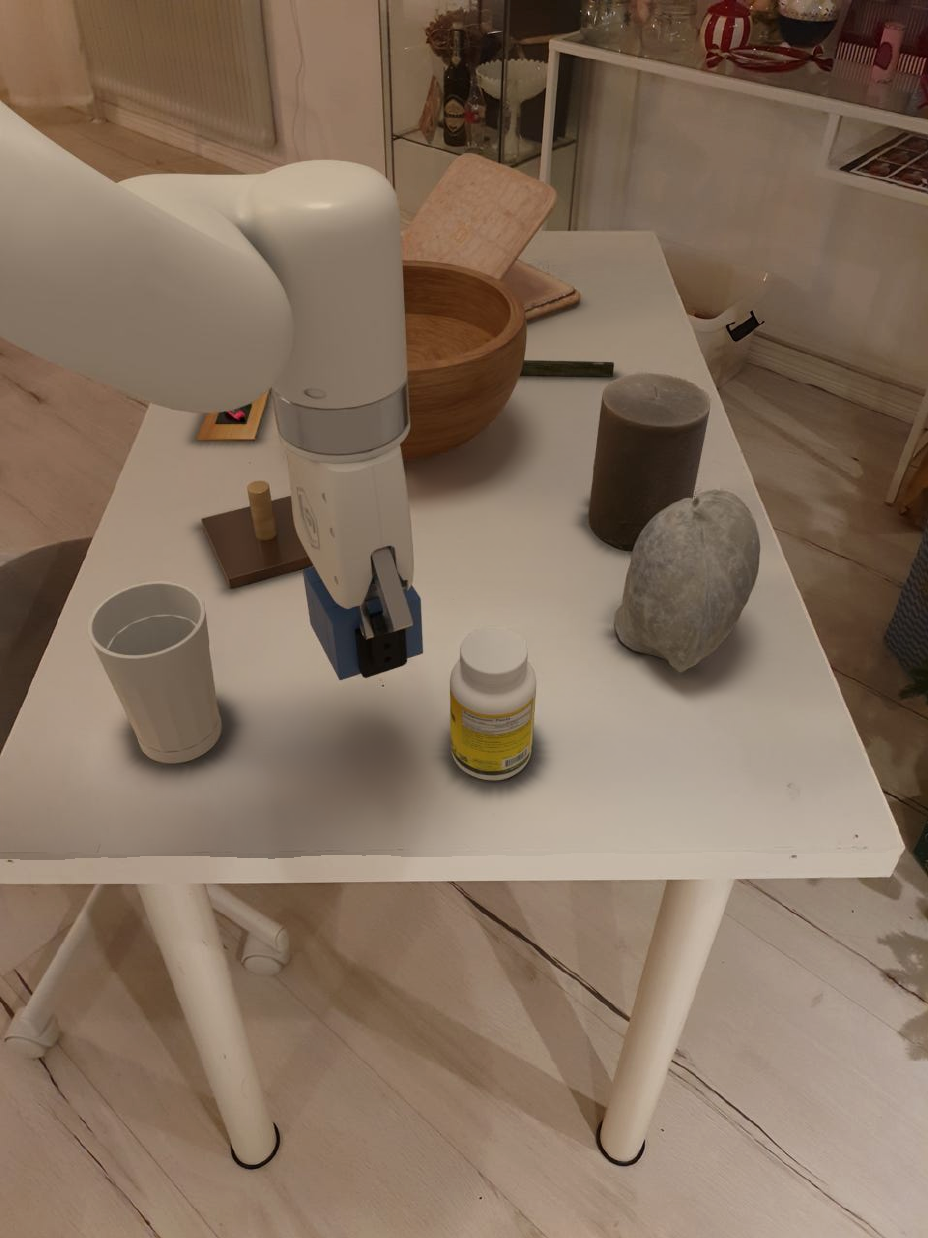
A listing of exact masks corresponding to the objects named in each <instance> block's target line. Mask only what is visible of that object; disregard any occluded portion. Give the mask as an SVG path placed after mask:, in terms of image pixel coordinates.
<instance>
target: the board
mask: <svg viewBox="0 0 928 1238" xmlns="http://www.w3.org/2000/svg"><path fill="white" fill-rule="evenodd" d="M270 392H271V388H270V389H269V390H268V391H267V392H266V393H265V394H264V395H262V396H261V397H260V398H258V399H256V400H255V401H253V402H251V403H250V404H248V405H246V406H243V407H240V408H237V409H234V410H231V411H225V412H219V413H205V416H204V419H203V421H202V424H201V427H200V429H199V432H198V434H197V437H196V441H203V442H204V441H206V442H207V441H209V442H210V441H212V442H213V441H214V442H215V441H216V442H217V441H219V442H222V441H223V442H224V441H225V442H226V441H227V442H228V441H230V442H233V441H234V442H238V441H239V442H255V441H256V436H257V433H258V430H259V427H260V424H261V421H262V417H263V414H264V410H265V408H266V404H267V400H268V398H269V394H270Z"/></svg>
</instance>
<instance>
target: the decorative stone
mask: <svg viewBox="0 0 928 1238" xmlns="http://www.w3.org/2000/svg"><path fill="white" fill-rule="evenodd" d="M760 556H761V542H760V534H759V530H758V526H757V523H756V520H755V519H754V516H753V514H752V511H751V510H750V509H749V507H748V506H747V504H746V503H745V502H744V501H743V500H742V499H741V498H740V497H738V496H737V495H736V494H734V493H732V492H729V491H728V490H727V491H726V490H722V489H711V490H706V491H702V492H700V493H697V495H695V496H693V499H692V498H684V499H682V500H680V501H678V502H675V503H672V504H671V505H669V506H668V507H666V508H665V509H663V510H662V511H660V512H659V513H657V514H656V515H655V516H654V517H653V518H652V519H651V520H650V521H649V522H648V523H647V525H646V526H645V527H644V529H643V530H642V531H641V533H640V535H639V537H638V539H637V541H636V543H635V546H634V549H633V551H631V557H630V562H629V565H628V567H627V573H626V576H625V581H624V586H623V592H622V599H621V604H620V606H618V608H617V609H616V610H615V612H614V624H615V632H616V635H617V637H618V639H619V641H620V642H621V643H622V644H623V645H625V646H626V647H627V648H628V649H630V650H632V651H634V652H637V653H641V654H646V655H649V656H654V657H658V658H661V659H662V660H665V661H668V663H669V665H670V666H671V667H672V668H673V669H674V670H675V671H677V672H678V673H684V672H686V671H687V670H688V669H690V668H693V667H694V666H696V665H697V664H698V663H699V662H700V661H701V660H702V659H704V658H707V657H708V656H709V655H711V654H712V653H714V652H715V651H716V650H717V648H718V647H719V646H721V644H722V643H723V641H724V640H725V639H726V638H727V636H728V635H729V634H730V632H731V631H732V630H733V628H734V626H735V625H736V623H737V622H738V621H739V620H740V617H741V615H742V613H743V610H744V609H745V607H746V605H747V603H748V601H749V600H750V597H751V594H752V592H753V590H754V587H755V584H756V582H757V577H758V573H759V568H760Z"/></svg>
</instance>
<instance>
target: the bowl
mask: <svg viewBox="0 0 928 1238" xmlns="http://www.w3.org/2000/svg"><path fill="white" fill-rule="evenodd" d="M402 264H403V286H404V308H405V330H406V352H407V372H408V393H409V414H410V430H409V432H408V435H407V436H406V438H405V439H404V441H403V442H402V443H400V447H401V453H402V459H403V462H405V461H408V462H409V461H418V460H419V461H420V460H424V459H426V460H427V459H431V458H434V457H438V456H440V455H444V454H446V453H449V452H451V451H454V450H456V449H458V448H460V447H462V446H463V445H465V444H466V443H469V442H470V441H472V440H473V439H474V438H476V437H477V436H479V434H481V433H482V432H483V431H484V430H485V429H487V428H488V427H489V425H490V424H491V423H492V422H494V420H495V419H496V418H497V417H498V416H499V415H500V413H501V412H502V411H503V409H504V407H505V406H506V405H507V403H508V402H509V400H510V398H511V396H512V394H513V392H514V390H515V388H516V386H517V384H518V381H519V378H520V376H521V374H520V373H521V370H522V366H523V361H524V360H525V356H526V350H527V337H528V335H527V334H528V333H527V332H528V330H527V329H528V328H527V327H528V326H527V320H526V314H525V308H524V305H523V302H522V300H521V299H520V297H519V296H518V294H517V293H516V292H515V291H514V290H513V289H512V288H510V287H509V286H508V285H506V284H505V283H503V282H502V281H500V280H498V279H496V278H494V277H492V276H490V275H488V274H485V273H483V272H480V271H477V270H474V269H470V268H466V267H463V266H458V265H453V264H447V263H440V262H431V261H416V260H402Z"/></svg>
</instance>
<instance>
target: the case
mask: <svg viewBox="0 0 928 1238" xmlns="http://www.w3.org/2000/svg"><path fill="white" fill-rule="evenodd" d="M557 203H558V192H557V191H556V189H555V188H554V187H553V186H552V185H550V184H548V183H546V182H544V181H541V180H540V179H536V178H535V177H532V176H529V175H528V174H526V173H524V172H523V171H520V170H518V169H516V168H513V167H511V166H509V165H506V164H503V163H500V162H498V161H497V162H496V161H494V160H491V159H489V158H486V157H485V156H482V155H480V154H478V153H473V152H465V153H462V154H460V155H459V156H458V157H456V158H455V159H454V160H452V162H451V163H450V165H449V166H448V168H447V170H446V171H445V172H444V174H443V175H442V177H441V179H440V180H439V181H438V183H437V184H436V186H435V187H434V188H433V190H432V192H431V193H430V194H429V195H428V197H427V199H426V200H425V202H423V204H422V206H421V208H419V211H418V212H417V213H416V215H415V216H414V218H413V219H412V220H411V222H410V223H409V225H408V227H406V229H405V231H404V232H403V234H401V243H402V260H416V261H431V262H440V263H447V264H453V265H458V266H463V267H466V268H470V269H474V270H477V271H480V272H483V273H485V274H488V275H490V276H492V277H494V278H496V279H498V280H500V281H502V282H503V283H505V284H506V285H508V286H509V287H510V288H512V289H513V290H514V291H515V292H516V293H517V294H518V296H519V297H520V299H521V300H522V302H523V305H524V308H525V314H526V321H528V320H531V319H535V318H538V317H540V316H543V315H546V314H548V313H551V312H555V311H558V310H561V309H563V308H566V307H569V306H572V305H574V304H576V303H578V302H579V301H580V299H581V293H580V292H579V290H578V289H576V288H575V287H574V286H573V285H571V284H570V283H568V282H565V281H563V280H561V279H558V278H556V277H554V276H552V275H550V273H548V272H546V271H543V270H542V269H540V268H538V267H535V266H533V265H531V264H529V263H527V262H524V261H522V260H520V259H519V257H520V256H521V254H522V253H523V252H524V250H525V249H526V247H527V246H528V245H529V243H530V242H531V240H532V239H533V238H534V237H535V236H536V234H537V233H538V232H539V230H540V228H541V227H542V226H543V225H544V224H545V222H546V221H547V219H548V218H549V216H550V215H551V214H552V212H553V211H554V210H555V207H556V205H557Z"/></svg>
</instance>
